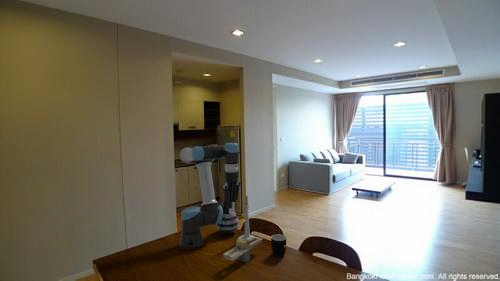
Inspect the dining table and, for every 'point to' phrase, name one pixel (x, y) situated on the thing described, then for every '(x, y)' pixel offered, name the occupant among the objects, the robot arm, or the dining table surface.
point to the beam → (242, 250)
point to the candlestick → (246, 222)
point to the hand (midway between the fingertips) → (231, 213)
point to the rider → (243, 243)
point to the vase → (227, 220)
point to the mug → (278, 245)
